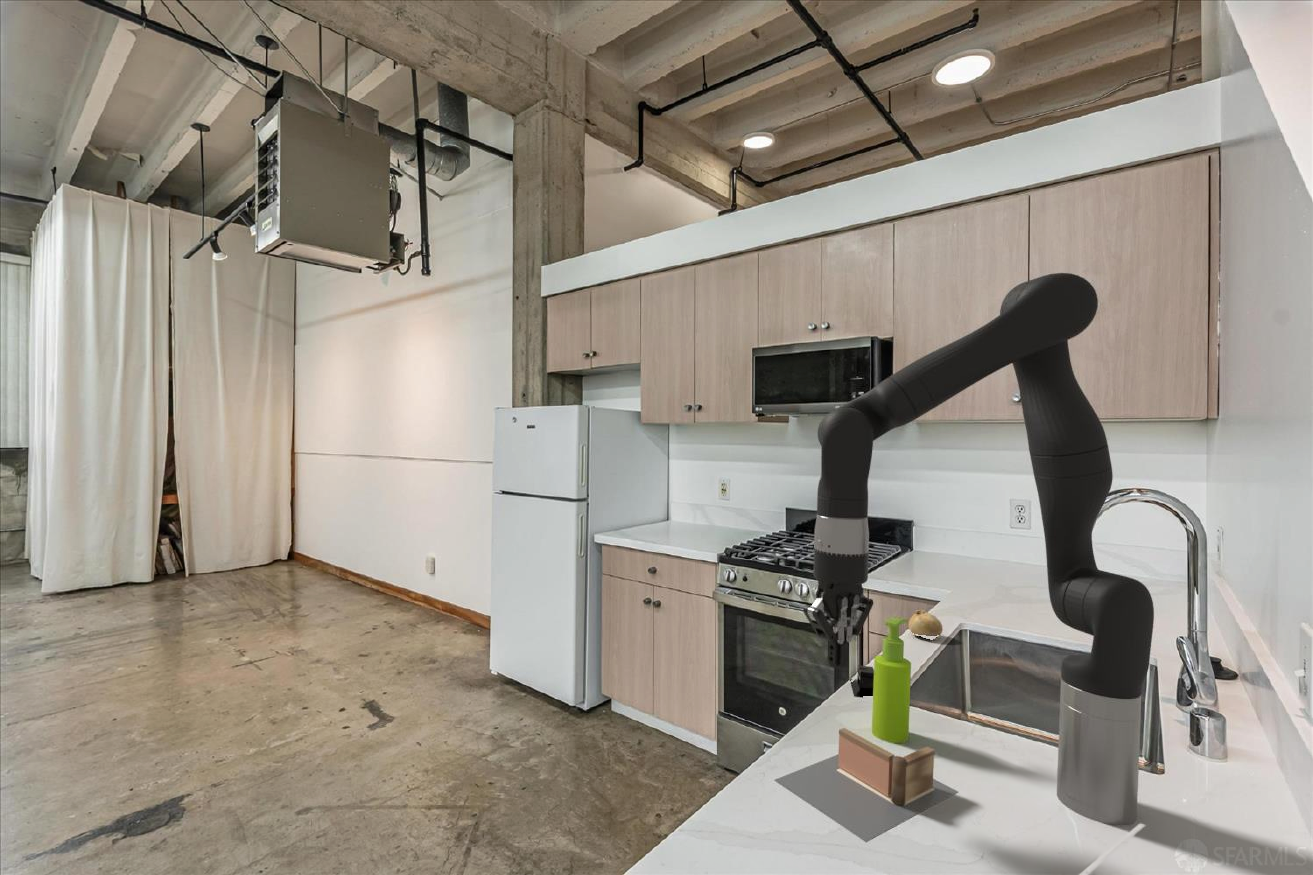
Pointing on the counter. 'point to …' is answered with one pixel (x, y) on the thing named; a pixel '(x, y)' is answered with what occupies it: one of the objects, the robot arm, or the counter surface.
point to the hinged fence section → (865, 761)
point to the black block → (863, 682)
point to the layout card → (856, 798)
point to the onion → (925, 624)
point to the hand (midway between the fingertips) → (837, 666)
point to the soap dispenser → (891, 688)
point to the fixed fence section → (912, 775)
